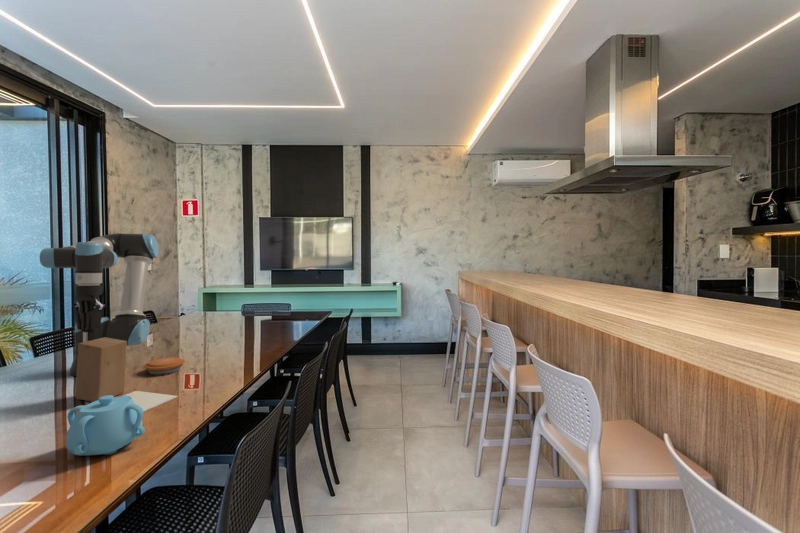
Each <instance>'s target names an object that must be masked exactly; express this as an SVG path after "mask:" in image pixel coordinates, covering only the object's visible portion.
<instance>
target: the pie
mask: <svg viewBox="0 0 800 533" xmlns="http://www.w3.org/2000/svg"><path fill="white" fill-rule="evenodd" d="M185 362H186V360H185V359H183V358H180V357H176V356H175V357H162V358H156V359H152V360H151V361H149V362H148V363H145V364H144V365H143V368H144V369H145V370H146V371H147V372H148V373H149V374H150V375H152V374H153V376H161V375H162V374H164V375H169V374H168V373H170V374H173V372H174V373H176V371H177V372H178V371H180V370H181V368H182V367H183V365H184V363H185ZM162 376H163V375H162Z"/></svg>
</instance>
